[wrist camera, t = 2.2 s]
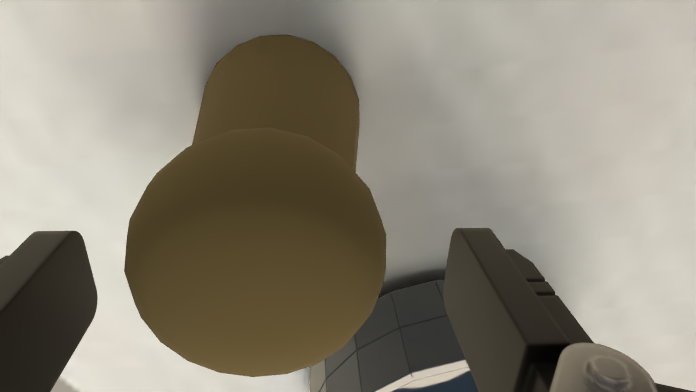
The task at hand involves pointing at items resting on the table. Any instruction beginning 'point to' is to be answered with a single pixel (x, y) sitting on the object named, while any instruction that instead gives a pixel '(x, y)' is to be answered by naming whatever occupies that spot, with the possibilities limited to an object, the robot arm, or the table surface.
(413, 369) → the bowl
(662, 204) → the table surface
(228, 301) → the cork
